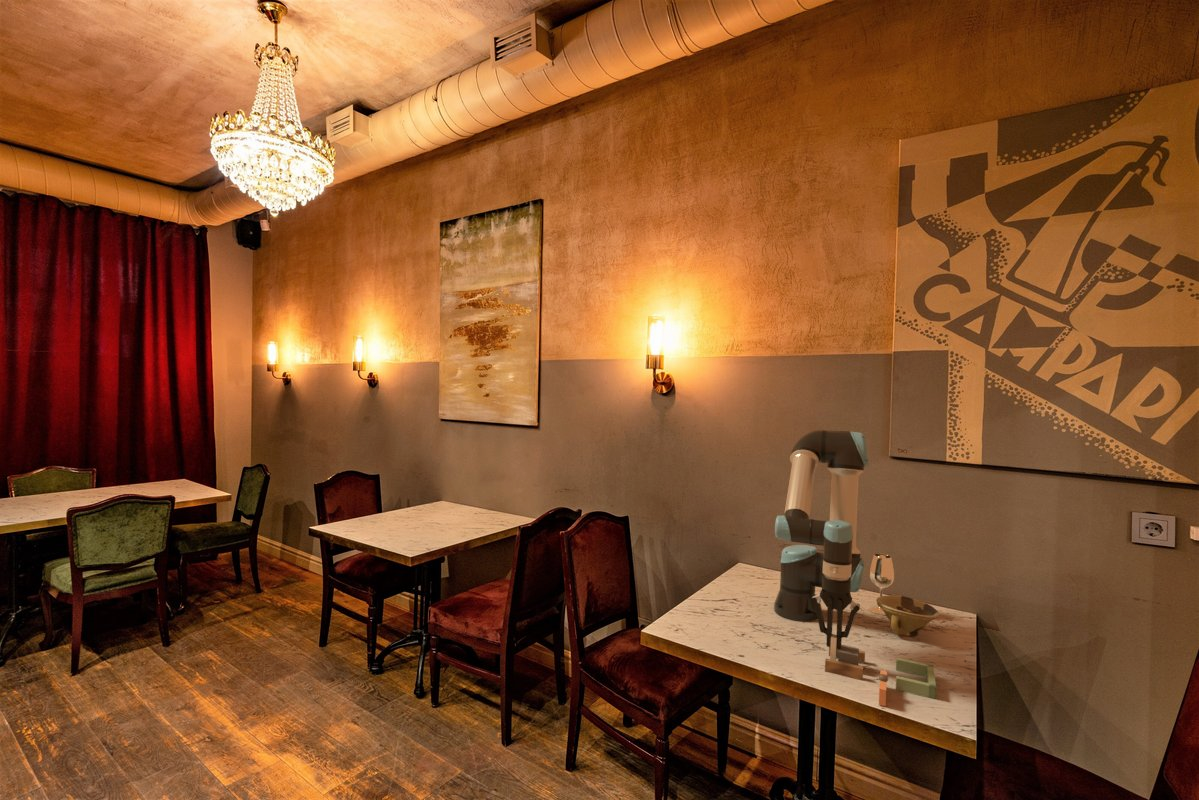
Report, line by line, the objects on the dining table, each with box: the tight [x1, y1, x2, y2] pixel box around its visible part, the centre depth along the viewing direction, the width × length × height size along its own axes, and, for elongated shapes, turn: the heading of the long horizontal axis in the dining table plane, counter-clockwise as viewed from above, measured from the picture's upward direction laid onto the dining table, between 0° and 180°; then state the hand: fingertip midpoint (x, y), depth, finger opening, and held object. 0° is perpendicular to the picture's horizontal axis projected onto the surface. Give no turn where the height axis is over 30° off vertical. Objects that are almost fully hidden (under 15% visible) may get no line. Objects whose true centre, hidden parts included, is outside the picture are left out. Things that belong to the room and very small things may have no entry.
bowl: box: [875, 594, 941, 638], centre depth 186 cm, size 18×18×10 cm
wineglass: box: [868, 553, 895, 616], centre depth 204 cm, size 8×8×20 cm
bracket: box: [895, 657, 937, 700], centre depth 153 cm, size 9×14×3 cm, turn 152°
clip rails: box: [824, 647, 866, 681], centre depth 161 cm, size 10×12×3 cm
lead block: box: [837, 644, 860, 666], centre depth 161 cm, size 5×5×5 cm
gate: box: [878, 669, 889, 707], centre depth 146 cm, size 2×11×5 cm, turn 152°
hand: (833, 658), depth 162 cm, fingers closed
